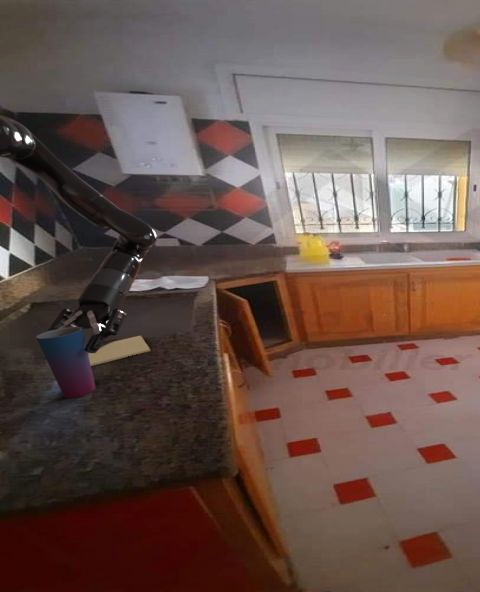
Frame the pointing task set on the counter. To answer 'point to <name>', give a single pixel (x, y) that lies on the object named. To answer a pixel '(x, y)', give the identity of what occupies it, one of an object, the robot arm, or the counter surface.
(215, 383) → the counter surface
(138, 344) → the mat
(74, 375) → the cup
